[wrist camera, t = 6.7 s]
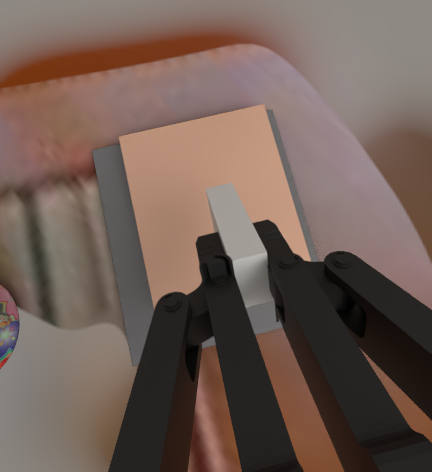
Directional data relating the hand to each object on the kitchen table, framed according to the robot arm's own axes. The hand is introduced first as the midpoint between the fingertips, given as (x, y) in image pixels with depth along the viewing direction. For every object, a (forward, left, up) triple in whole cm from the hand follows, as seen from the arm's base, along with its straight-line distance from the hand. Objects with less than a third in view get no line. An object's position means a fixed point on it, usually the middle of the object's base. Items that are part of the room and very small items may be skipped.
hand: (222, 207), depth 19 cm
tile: (+4, -2, -7) cm, 9 cm away
